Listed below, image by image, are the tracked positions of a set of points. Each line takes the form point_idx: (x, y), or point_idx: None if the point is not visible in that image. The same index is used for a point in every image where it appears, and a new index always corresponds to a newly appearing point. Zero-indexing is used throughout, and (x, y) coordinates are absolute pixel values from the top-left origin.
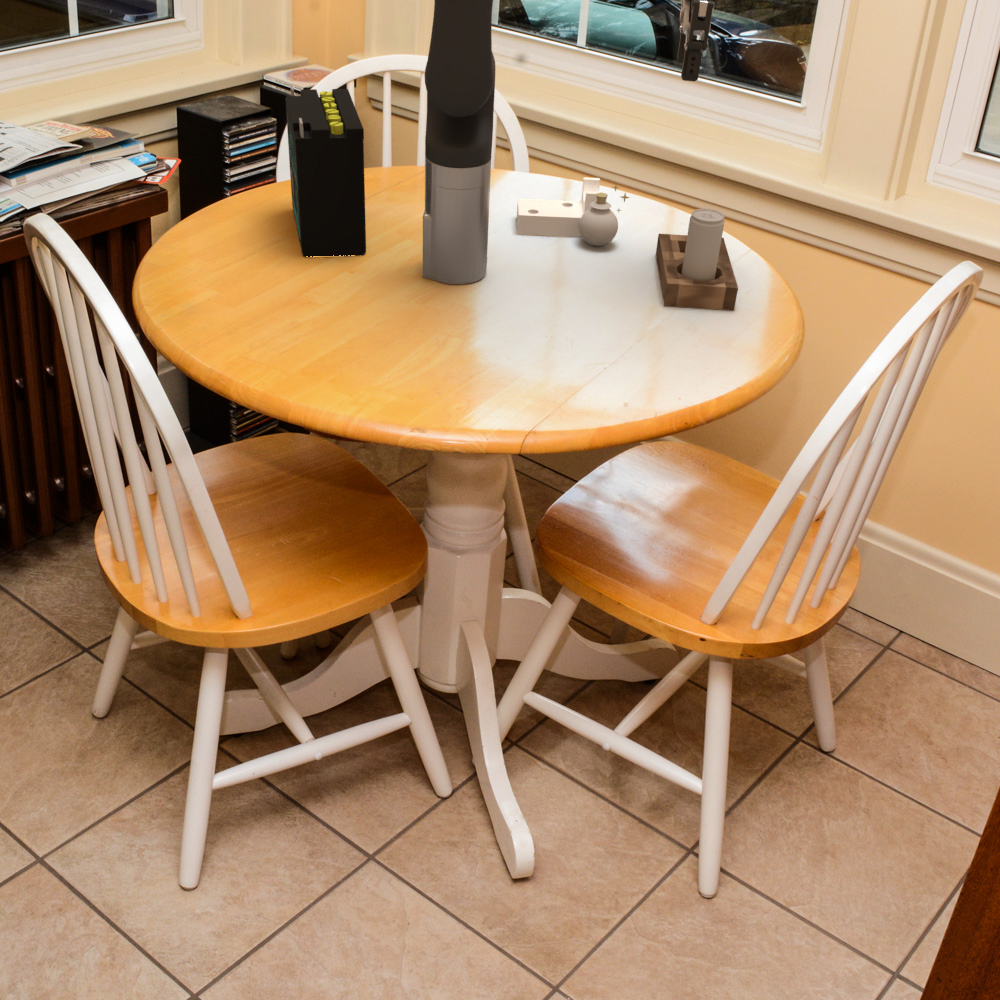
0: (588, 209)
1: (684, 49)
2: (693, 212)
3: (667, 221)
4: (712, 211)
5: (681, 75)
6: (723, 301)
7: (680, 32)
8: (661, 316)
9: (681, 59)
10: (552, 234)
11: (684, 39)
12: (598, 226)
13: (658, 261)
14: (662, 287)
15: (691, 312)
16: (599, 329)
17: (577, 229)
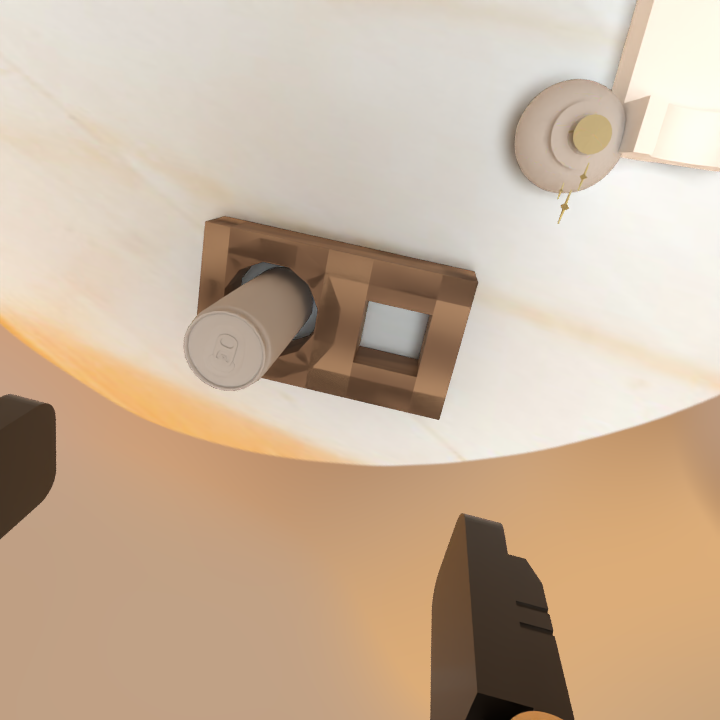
0: (600, 102)
1: (453, 612)
2: (242, 320)
3: (662, 356)
4: (256, 373)
5: (11, 401)
6: None
7: (519, 712)
8: (181, 197)
9: (454, 543)
10: (633, 16)
11: (464, 679)
12: (525, 123)
13: (409, 259)
14: (284, 231)
15: (201, 264)
16: (115, 42)
17: (618, 89)
